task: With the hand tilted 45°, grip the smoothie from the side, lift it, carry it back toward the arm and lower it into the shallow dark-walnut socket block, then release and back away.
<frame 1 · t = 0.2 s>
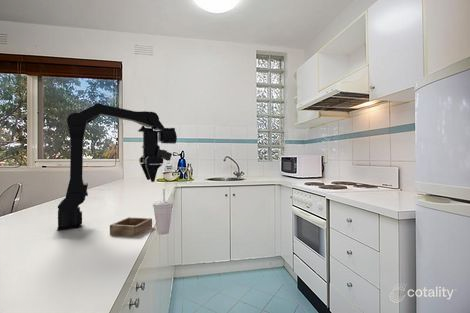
hand: (150, 180, 96), 14 cm above the countertop, tool pointing down, fingers open, 9 cm apart
smoothie: (163, 233, 75), on the countertop
socket block: (132, 230, 77), on the countertop
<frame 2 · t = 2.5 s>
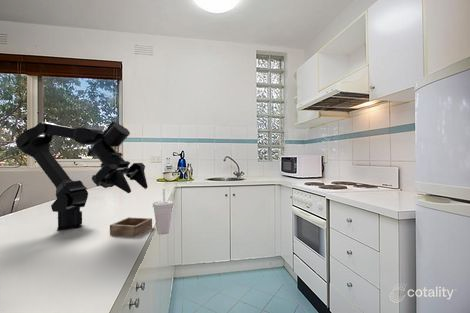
hand: (138, 190, 77), 14 cm above the countertop, tool tilted 45°, fingers open, 9 cm apart
nothing on the countertop moved.
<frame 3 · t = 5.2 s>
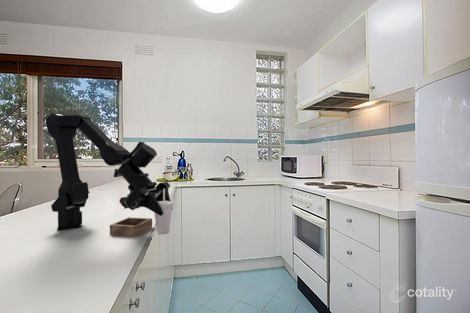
hand: (167, 212, 75), 7 cm above the countertop, tool tilted 45°, fingers closed on smoothie, 6 cm apart
smoothie: (163, 233, 75), on the countertop, touching gripper
when the fingers open (8 cm above the countertop, at t = 9.1 s): smoothie drops 1 cm, resting on socket block.
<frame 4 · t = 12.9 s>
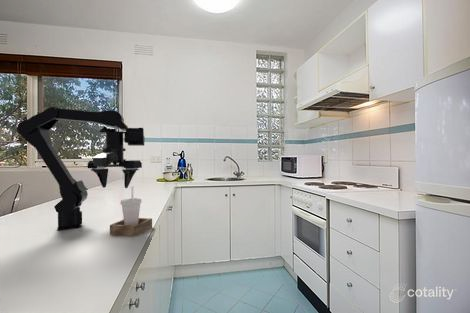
hand: (115, 187, 86), 13 cm above the countertop, tool pointing down, fingers open, 9 cm apart
smoothie: (131, 229, 77), resting on socket block
at the end: smoothie 0.2 cm off-centre on the socket block, point 0.3 cm above the socket block's base; smoothie tilted 0°; the gripper is holding nothing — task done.
